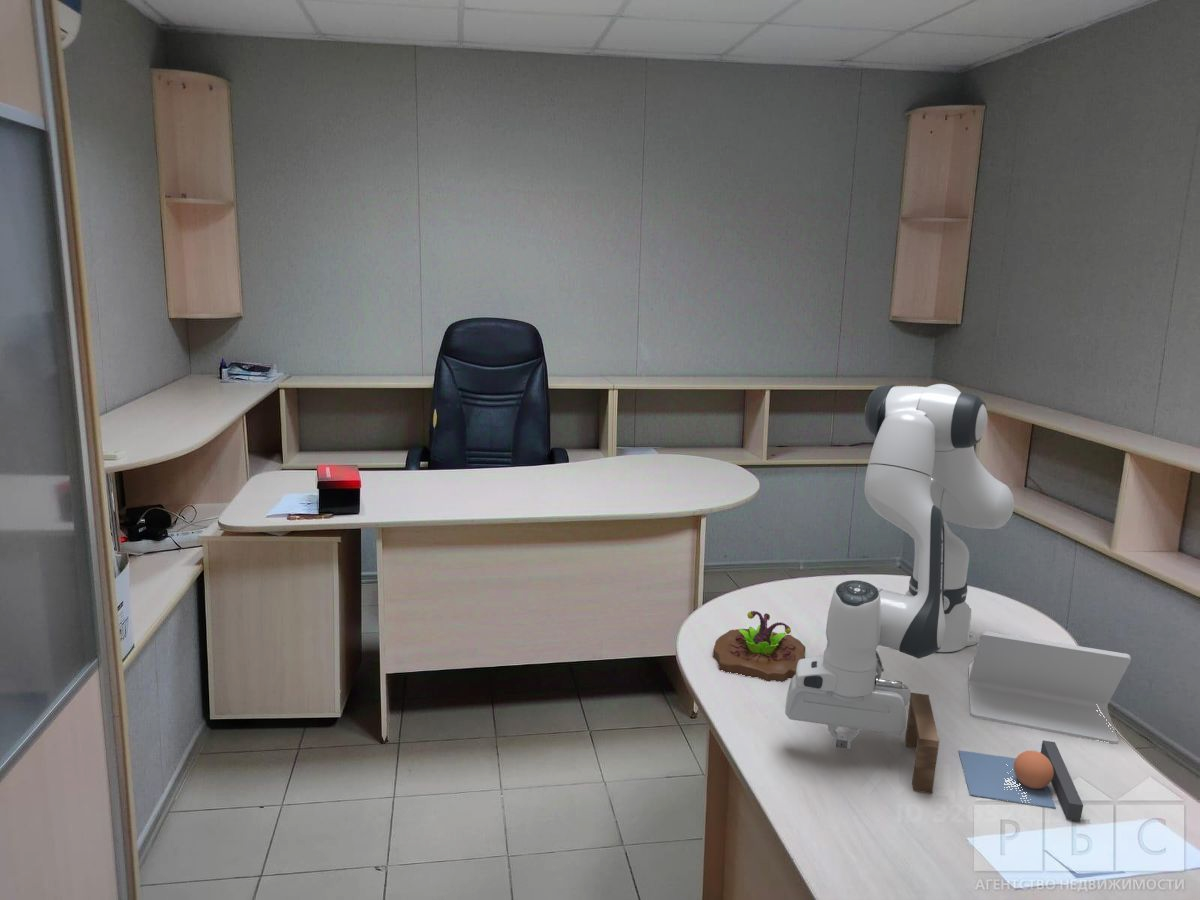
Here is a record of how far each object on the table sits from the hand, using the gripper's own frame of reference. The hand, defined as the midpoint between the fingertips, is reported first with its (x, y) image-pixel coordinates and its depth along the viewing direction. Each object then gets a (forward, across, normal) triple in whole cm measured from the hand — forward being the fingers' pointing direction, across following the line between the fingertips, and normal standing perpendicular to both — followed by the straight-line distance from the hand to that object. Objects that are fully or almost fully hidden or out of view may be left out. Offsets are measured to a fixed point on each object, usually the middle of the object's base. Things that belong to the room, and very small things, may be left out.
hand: (841, 746), depth 157 cm
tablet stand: (+2, -38, -27) cm, 46 cm away
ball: (-1, -31, +1) cm, 31 cm away
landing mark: (+2, -27, 0) cm, 27 cm away
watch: (+2, -4, -21) cm, 21 cm away
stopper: (+2, -36, 0) cm, 36 cm away
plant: (+2, +16, -32) cm, 36 cm away
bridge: (+2, -13, 0) cm, 13 cm away
